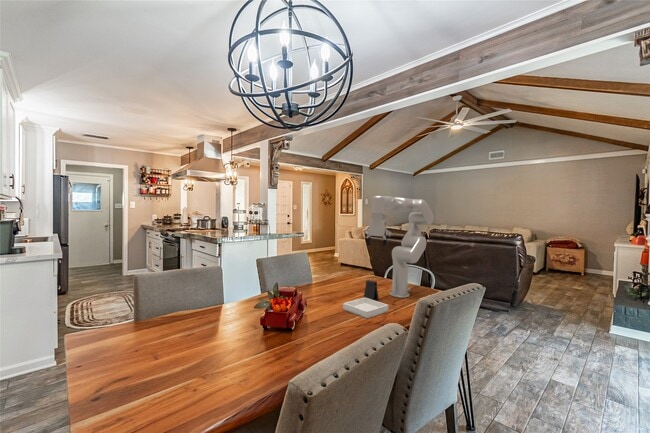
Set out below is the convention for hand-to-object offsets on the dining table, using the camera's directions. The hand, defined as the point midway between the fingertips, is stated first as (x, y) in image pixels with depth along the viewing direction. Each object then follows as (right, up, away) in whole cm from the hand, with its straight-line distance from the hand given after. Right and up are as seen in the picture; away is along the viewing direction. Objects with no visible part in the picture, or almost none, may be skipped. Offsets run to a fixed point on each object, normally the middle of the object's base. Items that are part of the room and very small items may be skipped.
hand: (376, 245), depth 178 cm
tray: (-8, -34, -14) cm, 38 cm away
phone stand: (-3, -34, +4) cm, 34 cm away
